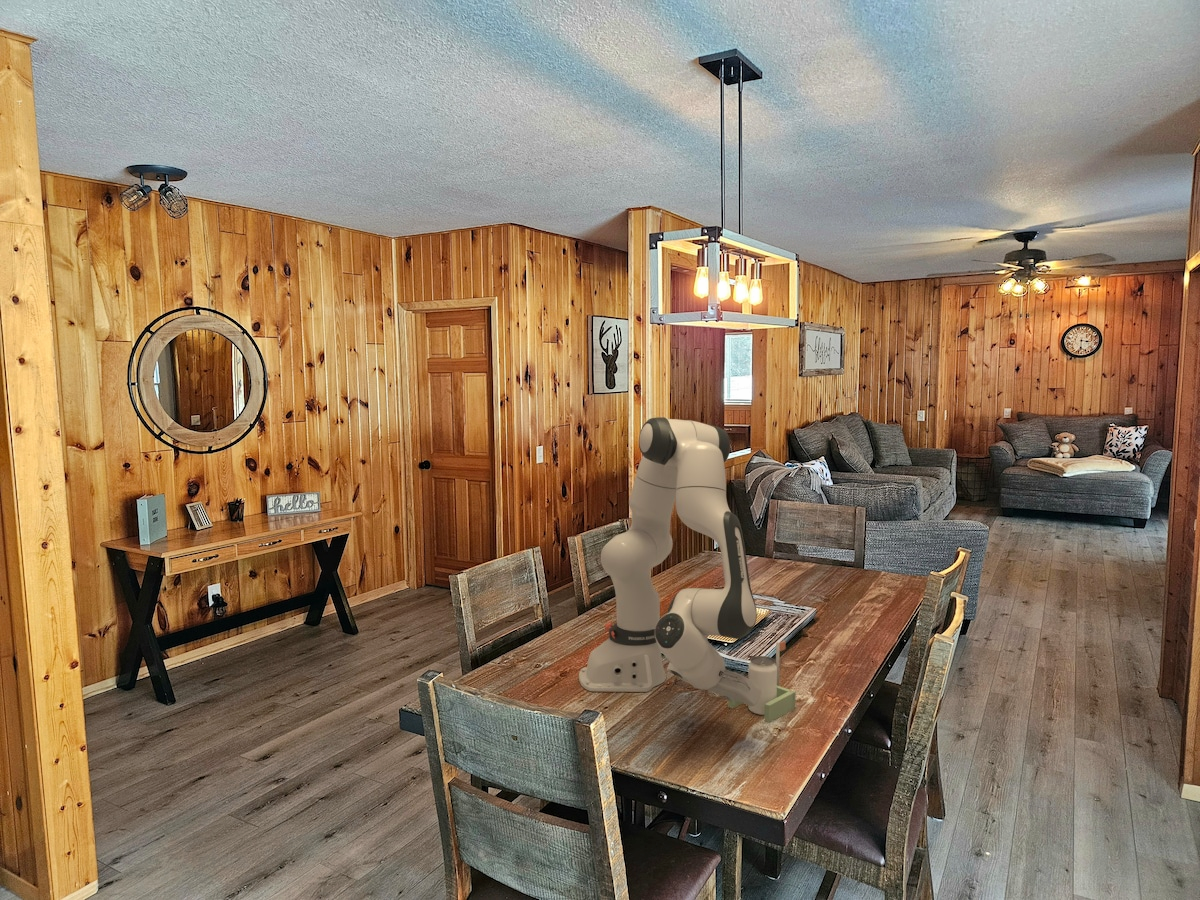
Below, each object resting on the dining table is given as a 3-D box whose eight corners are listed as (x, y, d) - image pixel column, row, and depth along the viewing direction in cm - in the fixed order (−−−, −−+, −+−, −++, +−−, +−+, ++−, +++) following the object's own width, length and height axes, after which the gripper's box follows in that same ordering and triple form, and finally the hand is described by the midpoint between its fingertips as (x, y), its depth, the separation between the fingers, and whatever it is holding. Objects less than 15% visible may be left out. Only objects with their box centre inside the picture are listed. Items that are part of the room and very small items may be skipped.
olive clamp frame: (768, 722, 176) (769, 662, 174) (728, 707, 184) (728, 649, 183) (804, 702, 186) (805, 646, 184) (764, 688, 194) (765, 634, 193)
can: (778, 706, 184) (779, 657, 183) (773, 717, 178) (774, 667, 177) (750, 702, 187) (751, 653, 185) (745, 713, 181) (746, 663, 179)
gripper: (749, 666, 161) (776, 698, 168) (674, 642, 175) (701, 672, 183) (736, 694, 158) (764, 724, 166) (661, 667, 173) (689, 696, 180)
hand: (730, 697), depth 175 cm, fingers closed
